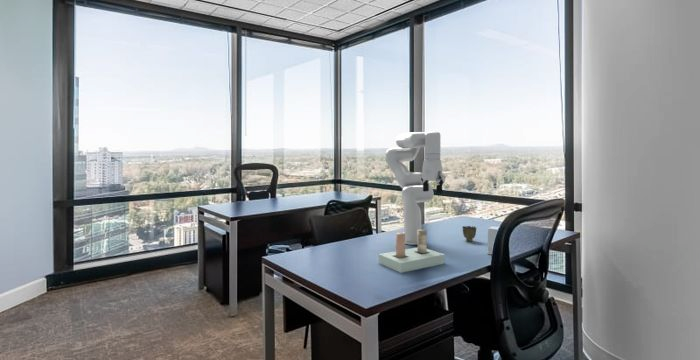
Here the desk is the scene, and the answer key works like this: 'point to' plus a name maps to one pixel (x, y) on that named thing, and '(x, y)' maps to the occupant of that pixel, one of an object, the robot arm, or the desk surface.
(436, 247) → the desk surface
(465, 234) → the cup
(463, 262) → the desk surface
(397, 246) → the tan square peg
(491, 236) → the supplement box
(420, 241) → the ash peg
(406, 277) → the desk surface
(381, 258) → the peg board
